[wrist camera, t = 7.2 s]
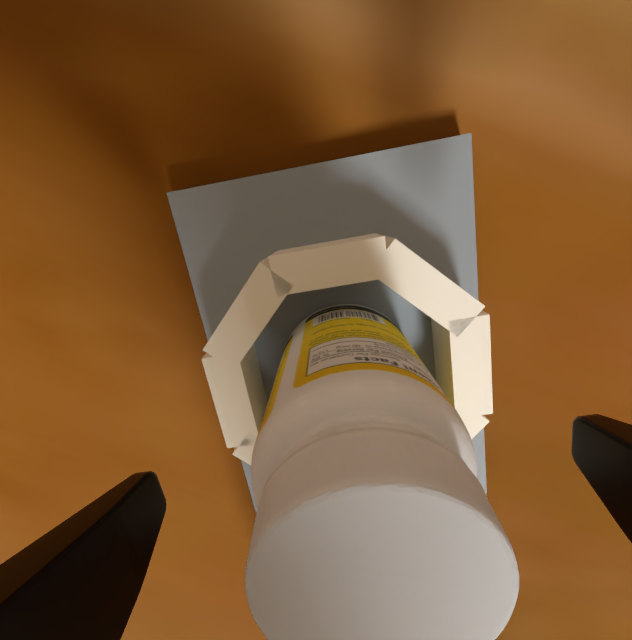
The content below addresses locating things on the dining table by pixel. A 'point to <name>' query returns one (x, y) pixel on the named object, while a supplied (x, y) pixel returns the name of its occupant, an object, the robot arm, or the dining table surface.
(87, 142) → the dining table surface
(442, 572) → the supplement bottle
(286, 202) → the holder board
